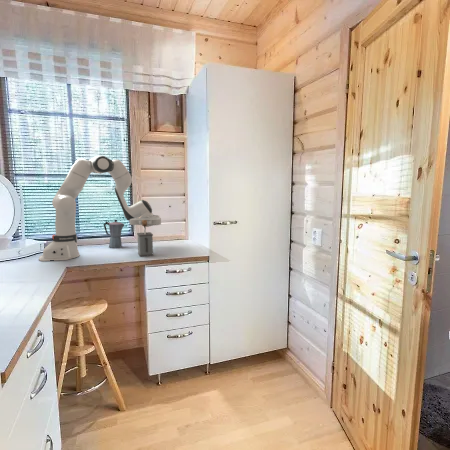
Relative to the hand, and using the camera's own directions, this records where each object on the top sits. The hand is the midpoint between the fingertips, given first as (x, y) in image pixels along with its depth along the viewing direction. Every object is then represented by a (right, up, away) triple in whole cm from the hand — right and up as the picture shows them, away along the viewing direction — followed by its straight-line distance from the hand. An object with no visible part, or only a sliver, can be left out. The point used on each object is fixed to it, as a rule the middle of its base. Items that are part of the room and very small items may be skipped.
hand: (144, 223), depth 198 cm
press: (0, -21, +3) cm, 21 cm away
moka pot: (-28, -17, +26) cm, 42 cm away
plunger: (0, -17, +4) cm, 18 cm away
